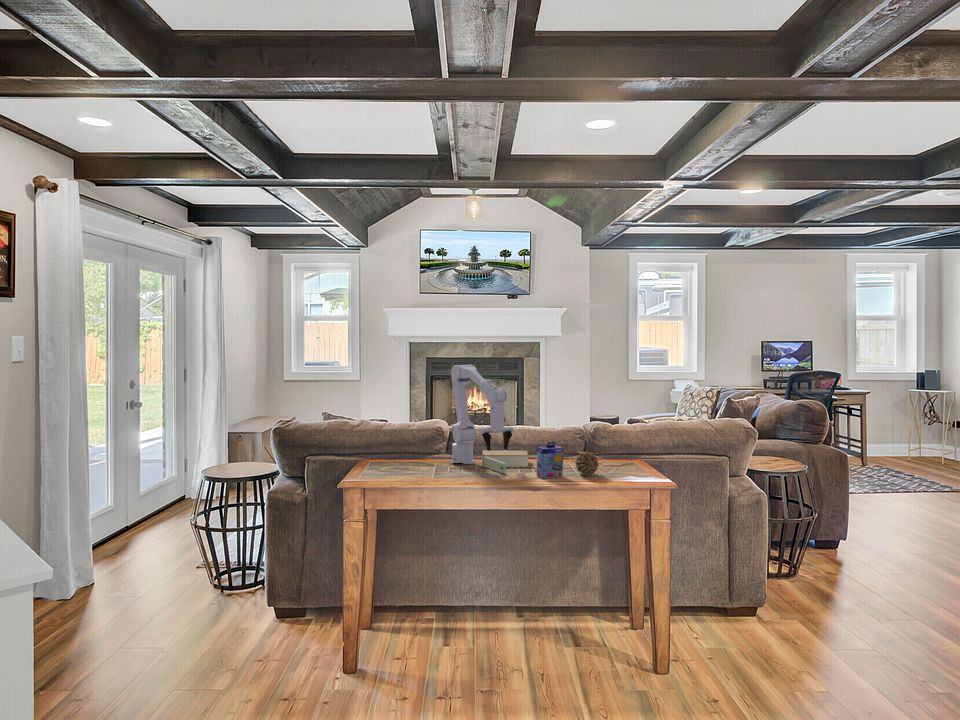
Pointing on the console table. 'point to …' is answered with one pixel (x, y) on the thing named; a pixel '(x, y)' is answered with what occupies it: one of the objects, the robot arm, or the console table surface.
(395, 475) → the console table surface
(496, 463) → the door
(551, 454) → the ink cartridge box
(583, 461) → the pine cone
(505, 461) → the beige flat box
